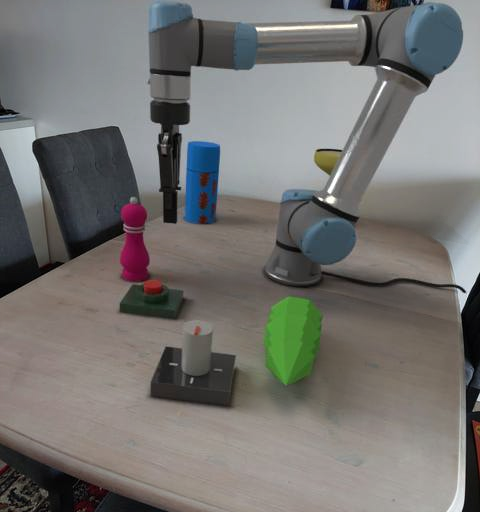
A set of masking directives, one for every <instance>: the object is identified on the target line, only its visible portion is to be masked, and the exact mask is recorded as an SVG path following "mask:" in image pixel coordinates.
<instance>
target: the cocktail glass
mask: <svg viewBox="0 0 480 512" xmlns="http://www.w3.org/2000/svg"><path fill="white" fill-rule="evenodd" d="M342 150H343V149H339V148H338V149H337V148H317V149H315V152H314V155H313V161H314V164H315V165H316V166H317V167H318V168H319V169H320V170H321V171H323V173H326V175H328V176H329V177H330V175H331V173H332V171H333V169H334V167H335V165H336V163H337V160H338V158H339V156H340V154H341V152H342Z"/></svg>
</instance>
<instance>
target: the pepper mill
mask: <svg viewBox="0 0 480 512" xmlns="http://www.w3.org/2000/svg"><path fill="white" fill-rule="evenodd" d="M138 202H139V200H138V198H137V197H135V196H132V197H130V199H129V203H127V204H126V205H124V206H122V208H121V211H120V217H121V220H122V221H123V231H124V232H125V240H124V241H125V242H124V245H123V248H122V250H121V252H120V255H119V264H120V265H121V267H123V268H122V269H121V276H122V279H124V280H126V281H129V282H141V281H146V279H147V278H148V277H149V271H148V268H147V267H148V266H149V265H150V263H151V261H150V260H151V259H150V253H149V252H148V249H147V247H146V244H145V242H144V241H145V240H144V232H145V231H146V228H145V227H146V224H145V222H146V221H147V219H148V212H147V209H146V208H145V206H143V205H142V204H140V203H138Z"/></svg>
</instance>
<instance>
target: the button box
mask: <svg viewBox="0 0 480 512" xmlns="http://www.w3.org/2000/svg"><path fill="white" fill-rule="evenodd" d="M184 292H185V291H184V290H183V289H173V288H169V287H168V286H167V285H165V284H163V283H162V292H161V293H159V294H148V293H145V292H144V283H142V284H133V283H132V285H131V286H130V288H129V289H128V290H127V292H126V293H125V294H124V296H123V297H122V299H121V301H120V302H119V313H123V314H132V315H140V316H148V317H155V318H156V317H157V318H164V319H171V320H175V319H176V317H177V315H178V312H179V309H180V308H181V305H182V302H183V300H184Z"/></svg>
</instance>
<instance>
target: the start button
mask: <svg viewBox="0 0 480 512" xmlns="http://www.w3.org/2000/svg"><path fill="white" fill-rule="evenodd" d="M143 284H144V292H145V293H148V294H159V293H161V292H162V284H163V283H162V281H160V280H158V279H157V280H156V279H147V280H144V282H143Z"/></svg>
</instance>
